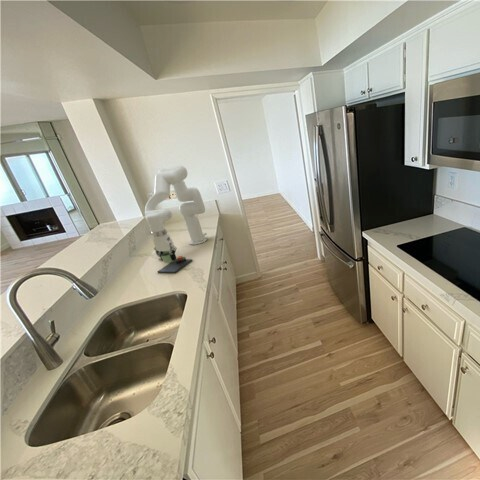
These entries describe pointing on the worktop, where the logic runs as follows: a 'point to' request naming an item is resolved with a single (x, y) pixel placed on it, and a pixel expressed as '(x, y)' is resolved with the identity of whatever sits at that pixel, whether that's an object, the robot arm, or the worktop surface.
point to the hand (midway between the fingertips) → (169, 259)
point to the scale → (175, 266)
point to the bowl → (166, 257)
